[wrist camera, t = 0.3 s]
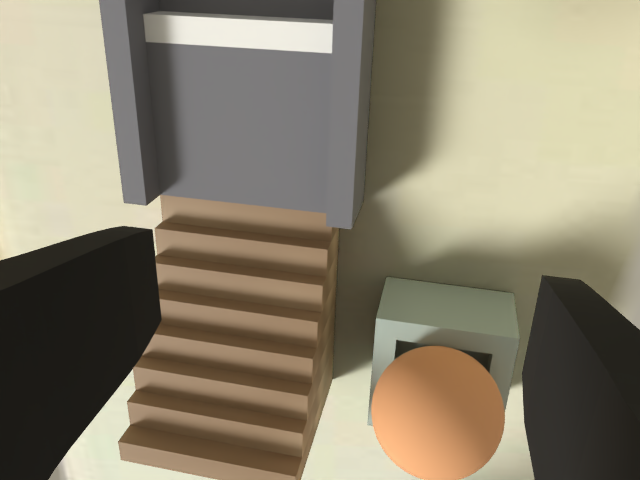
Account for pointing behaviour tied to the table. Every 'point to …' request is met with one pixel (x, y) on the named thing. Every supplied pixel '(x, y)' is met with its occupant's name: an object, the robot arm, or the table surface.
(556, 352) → the robot arm
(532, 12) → the table surface
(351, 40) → the lane
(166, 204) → the staircase
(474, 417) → the ball
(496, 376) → the hollow square container
